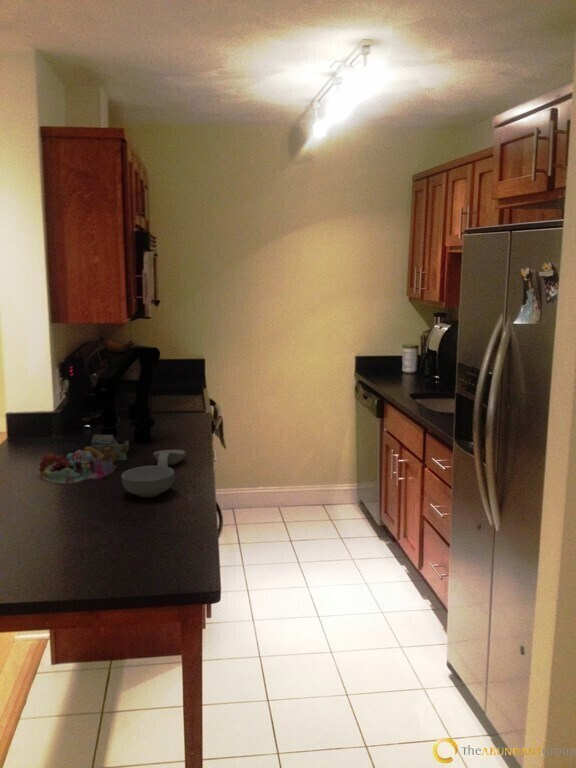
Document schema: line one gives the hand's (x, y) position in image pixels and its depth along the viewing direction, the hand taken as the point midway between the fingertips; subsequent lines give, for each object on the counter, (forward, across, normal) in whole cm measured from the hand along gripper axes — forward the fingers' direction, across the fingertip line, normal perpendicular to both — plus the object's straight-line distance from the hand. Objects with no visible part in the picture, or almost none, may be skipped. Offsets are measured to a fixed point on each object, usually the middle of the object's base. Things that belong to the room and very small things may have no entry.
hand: (111, 445), depth 274 cm
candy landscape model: (+2, +26, -10) cm, 28 cm away
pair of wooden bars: (+2, +5, 0) cm, 5 cm away
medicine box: (+1, +5, -1) cm, 5 cm away
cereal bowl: (+2, +52, +15) cm, 55 cm away
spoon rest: (+2, +26, +21) cm, 33 cm away
